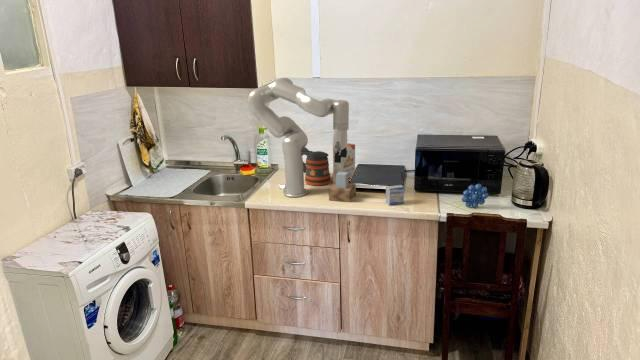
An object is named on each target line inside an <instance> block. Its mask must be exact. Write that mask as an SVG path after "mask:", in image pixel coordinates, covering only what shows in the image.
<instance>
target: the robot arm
mask: <svg viewBox="0 0 640 360" xmlns="http://www.w3.org/2000/svg"><path fill="white" fill-rule="evenodd" d="M277 99H282V100H285V101H288V102H289V103H292V104H295V105H297V106H298V108H300V109H301V110H303V111H304V112H306V113H308V114H311V115H312V116H316V117H319V118H326V117H327V116H328V115H331V114H332V115H333V116H332V130H333V135H332V151H333V150H335V151H334V162H335V163H341V157H344V158H346V157H347V150H346V149H347V147H346V146H347V143H348V130H349V126H350V124H349V123H350V122H349V121H350V118H349V117H350V116H349V115H350V110H349V109H350V103H349V101H348V100H345V99H342V100H341V99H332V98H325V99H322V100H319V99H316V98H313V97H312V96H310V95H308V94H307V93H306V90H305V89H304V88H303V87H301V86H298V85H296V84H294V83H293V81H292V80H291V79H290V78H288V77H281V78H277V79H275V80H273V81H272V83H269V84H267V85H264V86H261V87H258V88H255V89H252V91H251V92H250V93H249V95H248V97H247V106H248V109H249V111H250V113H251V114H252V115H253V116H254V117H256V119H257V120H258V121H259V122H260V123H261V124H262V125H263V126H264V128H266V129H267V131H269V133H270V134H271V135H272V136H273V137H274V138H277V139H278V138H279V139H281V138H282V137H284V138H283V141H282V143H281V147H282V148H281V149H282V152H283V161H284V172H285V173H284V175H285V184H279V190H283V195H284V196H285V197H288V198H300V197H303V196H306V195H307V194H308V189H307V188H305V173H304V172H303V162H304V159H303V156H302V154H301V149H303V148H304V147H306V146H307V145H308V143H309V139H308V136H307V134H306V132H304V130H303V129H301V127H300V126H299V125H298V124H297V123H296V122H295V121H294V120H293V119H292V118H291V117H288V116H284V115H283V116H281V117H279V116H278V115H277V114H276V113H275V111H273V110H272V109H271V108H270V107H268V106H267V105H266V104H269V103H271V102H273V101H276V100H277ZM338 148H340V149H338Z"/></svg>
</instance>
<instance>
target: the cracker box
mask: <svg viewBox="0 0 640 360" xmlns="http://www.w3.org/2000/svg"><path fill="white" fill-rule="evenodd" d="M346 147H347V149H346V150H347V157H346V158H344V157H341V163H335V162H334V151H335V150H333V149H332V166H333V167H332V171H333V172H332V173H333V174H332V175H333V178H332V180H333V184H334V183H335V182H336V174H337V173H338V172H348V183H349V184H350V182H349V180H350V179H351V177H352V175H353V173H354V172H355V173H356V144H354V143H348V142H347V146H346ZM338 149H340V148H338ZM333 184H332V185H333Z"/></svg>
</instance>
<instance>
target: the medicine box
mask: <svg viewBox="0 0 640 360" xmlns="http://www.w3.org/2000/svg"><path fill="white" fill-rule="evenodd" d="M385 203H386V204H387V205H388V206H394V205H402V204H404V203H405V186H403V185H402V184H396V185H389V186H387V185H386V186H385Z"/></svg>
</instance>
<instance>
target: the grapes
mask: <svg viewBox="0 0 640 360" xmlns="http://www.w3.org/2000/svg"><path fill="white" fill-rule="evenodd" d="M462 196H463V197H461V202H462V203H465V207H467V208H469V207H472V208H474V209H477V208H478V207H479V206H482V205H484V204H486V203H485V202H486V199H487V198H489V193H488V188H487V187H486V186H482V184H481V183H477V184H475V185H473V184H470V185H468V186H467V189H465V190H463V191H462Z"/></svg>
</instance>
